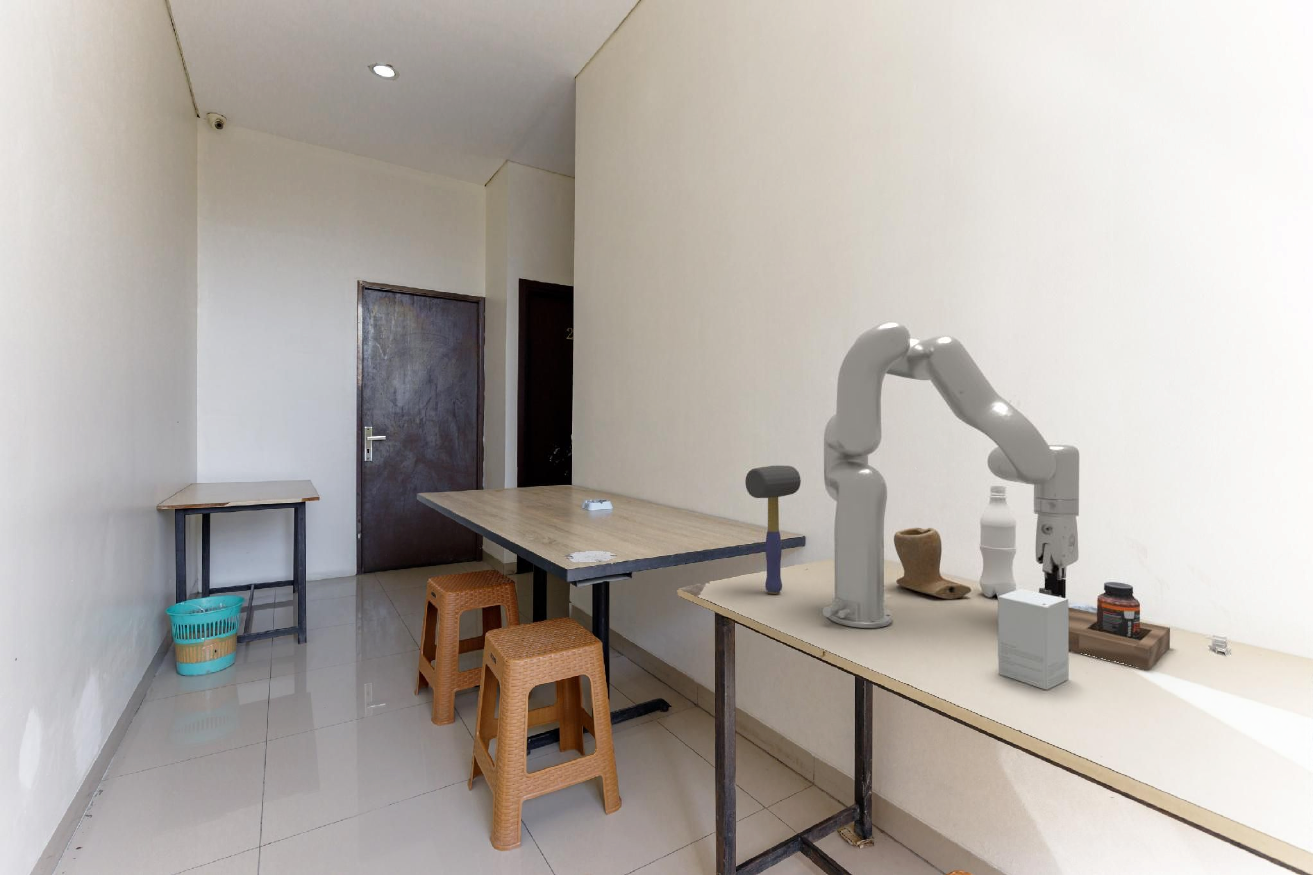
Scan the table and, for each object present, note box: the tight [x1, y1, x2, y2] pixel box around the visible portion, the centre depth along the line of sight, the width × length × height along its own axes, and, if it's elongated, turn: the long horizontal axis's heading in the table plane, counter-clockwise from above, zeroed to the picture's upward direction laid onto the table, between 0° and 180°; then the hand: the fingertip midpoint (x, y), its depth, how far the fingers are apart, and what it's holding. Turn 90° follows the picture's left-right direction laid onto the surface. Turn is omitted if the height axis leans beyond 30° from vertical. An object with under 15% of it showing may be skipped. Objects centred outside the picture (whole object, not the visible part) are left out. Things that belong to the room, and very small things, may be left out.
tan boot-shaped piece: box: [893, 527, 972, 600], centre depth 139 cm, size 15×12×15 cm
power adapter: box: [1205, 634, 1232, 657], centre depth 103 cm, size 3×3×3 cm
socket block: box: [1068, 606, 1171, 671], centre depth 109 cm, size 15×22×4 cm
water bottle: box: [979, 485, 1017, 598], centre depth 136 cm, size 7×7×25 cm
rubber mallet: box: [744, 465, 802, 595], centre depth 140 cm, size 12×8×30 cm, turn 125°
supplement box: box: [997, 588, 1070, 691], centre depth 94 cm, size 7×7×13 cm
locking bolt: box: [1038, 587, 1061, 597], centre depth 116 cm, size 8×3×4 cm, turn 129°
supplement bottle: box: [1096, 581, 1141, 640], centre depth 104 cm, size 6×6×11 cm
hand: (1055, 597), depth 120 cm, fingers closed
